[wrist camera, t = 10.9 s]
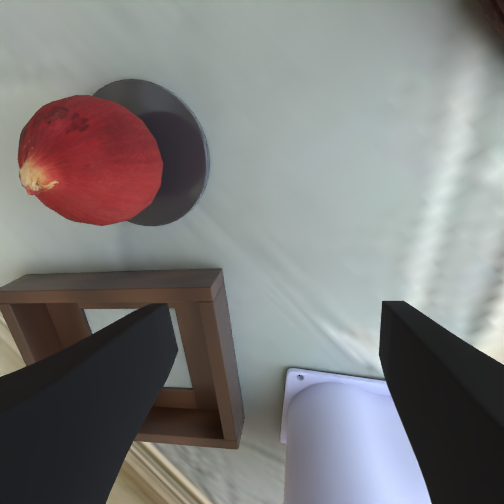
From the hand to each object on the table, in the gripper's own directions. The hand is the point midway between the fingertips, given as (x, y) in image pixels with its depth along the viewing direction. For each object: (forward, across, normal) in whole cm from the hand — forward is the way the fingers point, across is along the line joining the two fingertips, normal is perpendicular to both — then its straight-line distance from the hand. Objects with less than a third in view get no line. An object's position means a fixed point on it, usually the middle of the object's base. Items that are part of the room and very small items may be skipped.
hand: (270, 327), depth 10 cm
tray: (+9, +12, +9) cm, 18 cm away
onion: (+9, +8, -6) cm, 14 cm away
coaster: (+9, +8, -6) cm, 14 cm away
